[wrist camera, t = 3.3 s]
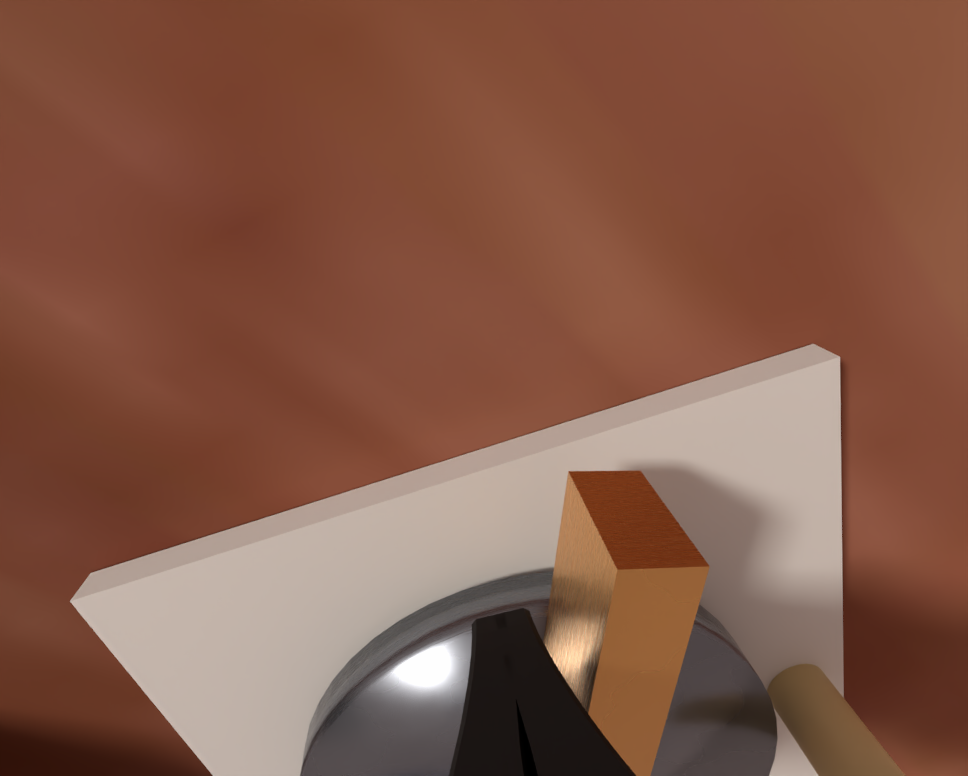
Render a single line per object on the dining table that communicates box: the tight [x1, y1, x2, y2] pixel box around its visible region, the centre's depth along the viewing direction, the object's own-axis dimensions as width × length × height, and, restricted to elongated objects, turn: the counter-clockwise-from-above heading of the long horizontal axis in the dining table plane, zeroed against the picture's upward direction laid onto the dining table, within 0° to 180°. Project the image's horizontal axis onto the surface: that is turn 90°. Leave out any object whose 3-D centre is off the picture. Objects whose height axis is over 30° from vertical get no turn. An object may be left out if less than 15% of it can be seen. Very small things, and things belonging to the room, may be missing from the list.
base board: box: [70, 344, 905, 776], centre depth 16 cm, size 18×20×6 cm
